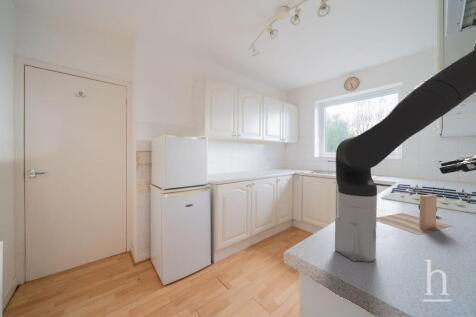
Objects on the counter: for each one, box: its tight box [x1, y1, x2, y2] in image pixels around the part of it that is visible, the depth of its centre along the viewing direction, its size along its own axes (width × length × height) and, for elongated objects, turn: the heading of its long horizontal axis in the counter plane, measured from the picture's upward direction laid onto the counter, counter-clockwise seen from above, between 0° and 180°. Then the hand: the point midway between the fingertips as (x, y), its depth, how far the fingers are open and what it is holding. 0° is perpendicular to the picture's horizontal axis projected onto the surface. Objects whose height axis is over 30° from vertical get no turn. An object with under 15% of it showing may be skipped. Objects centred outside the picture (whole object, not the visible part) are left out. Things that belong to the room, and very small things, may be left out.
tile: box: [419, 193, 438, 230], centre depth 66 cm, size 7×2×12 cm, turn 110°
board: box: [376, 212, 453, 236], centre depth 72 cm, size 22×16×1 cm
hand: (441, 168), depth 61 cm, fingers open, 8 cm apart
